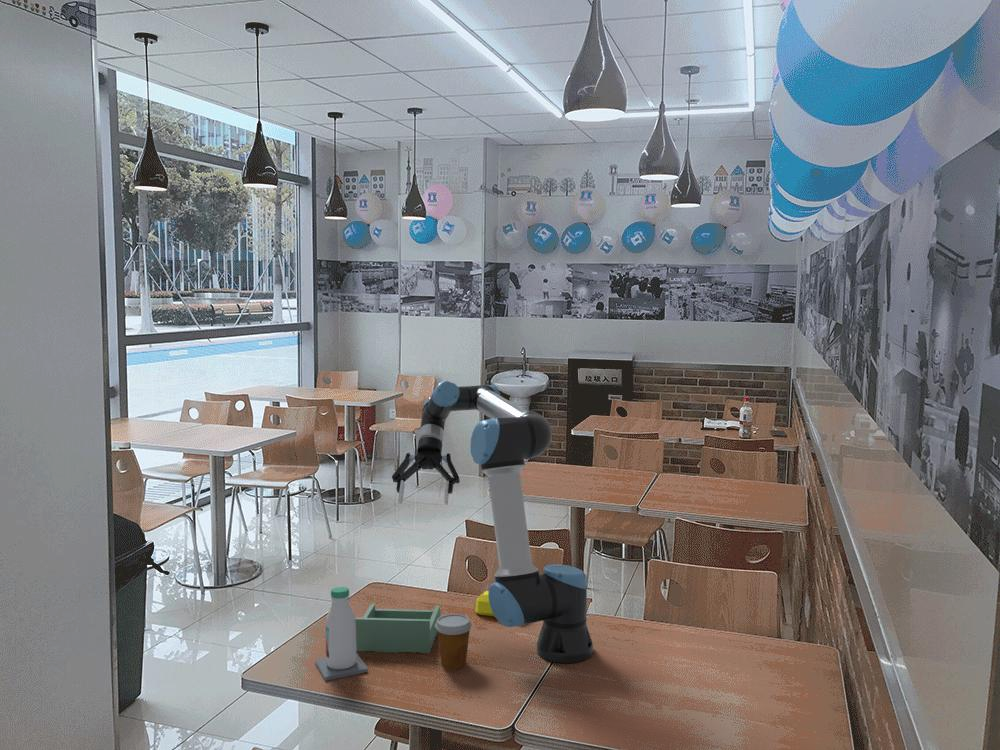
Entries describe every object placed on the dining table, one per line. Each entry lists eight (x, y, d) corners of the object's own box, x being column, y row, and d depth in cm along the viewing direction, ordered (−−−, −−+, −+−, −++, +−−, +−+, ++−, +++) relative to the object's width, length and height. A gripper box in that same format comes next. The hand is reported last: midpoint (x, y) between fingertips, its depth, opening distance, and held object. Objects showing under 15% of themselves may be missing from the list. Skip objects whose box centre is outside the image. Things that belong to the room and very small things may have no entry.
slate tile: (368, 672, 213) (367, 668, 213) (325, 681, 209) (325, 677, 208) (356, 655, 223) (356, 652, 223) (315, 663, 218) (315, 659, 218)
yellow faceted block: (523, 625, 244) (533, 615, 251) (523, 603, 243) (533, 594, 250) (468, 615, 251) (480, 606, 258) (468, 593, 251) (480, 585, 258)
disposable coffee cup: (455, 676, 211) (455, 630, 210) (428, 666, 217) (427, 621, 216) (479, 662, 219) (479, 618, 217) (451, 653, 224) (451, 610, 223)
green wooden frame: (372, 621, 246) (371, 592, 245) (440, 623, 245) (440, 593, 244) (355, 651, 226) (354, 619, 225) (429, 653, 224) (429, 621, 223)
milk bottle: (362, 660, 218) (361, 586, 216) (345, 672, 211) (343, 596, 209) (338, 655, 221) (336, 582, 219) (320, 667, 214) (318, 591, 212)
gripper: (471, 449, 260) (466, 509, 246) (392, 448, 262) (383, 507, 248) (469, 435, 254) (464, 495, 241) (388, 435, 256) (379, 494, 243)
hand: (422, 501), depth 245 cm, fingers open, 13 cm apart
